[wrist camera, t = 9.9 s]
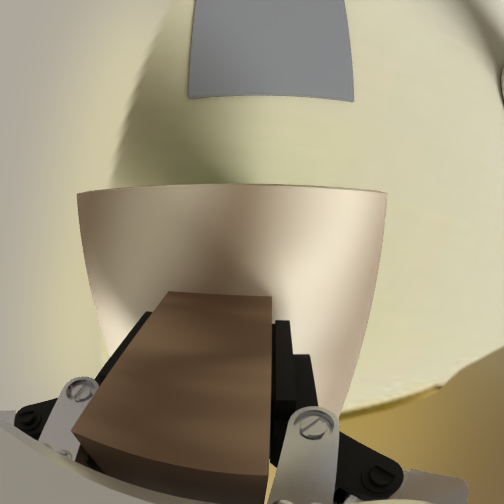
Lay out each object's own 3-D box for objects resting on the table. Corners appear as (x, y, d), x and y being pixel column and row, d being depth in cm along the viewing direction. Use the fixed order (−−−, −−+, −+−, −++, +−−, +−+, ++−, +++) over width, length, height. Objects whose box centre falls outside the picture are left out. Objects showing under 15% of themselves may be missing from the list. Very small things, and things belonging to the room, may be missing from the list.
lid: (377, 190, 10) (550, 256, 2) (334, 409, 13) (354, 531, 6) (90, 191, 10) (-67, 240, 3) (134, 393, 14) (82, 494, 6)
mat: (340, -13, 15) (341, -15, 15) (352, 102, 19) (354, 101, 19) (199, -15, 16) (198, -17, 16) (189, 98, 20) (188, 97, 20)
